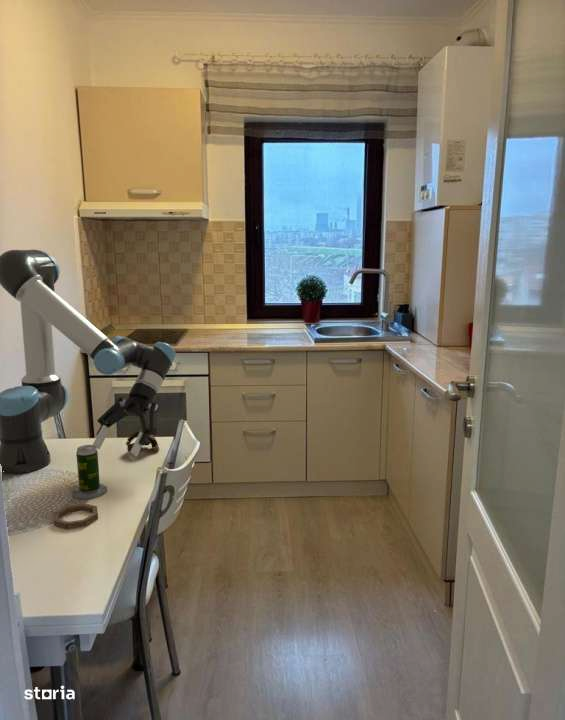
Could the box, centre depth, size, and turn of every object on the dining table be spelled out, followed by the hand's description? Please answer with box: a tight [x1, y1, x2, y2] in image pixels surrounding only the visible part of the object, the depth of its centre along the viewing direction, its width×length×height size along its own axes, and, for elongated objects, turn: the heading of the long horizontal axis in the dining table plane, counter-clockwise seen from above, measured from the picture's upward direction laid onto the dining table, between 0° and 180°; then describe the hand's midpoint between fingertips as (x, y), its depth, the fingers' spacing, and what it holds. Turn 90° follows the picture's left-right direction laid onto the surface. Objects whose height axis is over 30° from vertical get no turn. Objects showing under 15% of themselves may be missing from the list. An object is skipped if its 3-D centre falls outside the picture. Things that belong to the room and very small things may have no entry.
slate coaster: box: [71, 483, 108, 500], centre depth 149 cm, size 9×9×1 cm
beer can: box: [76, 444, 101, 494], centre depth 148 cm, size 5×5×12 cm
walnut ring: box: [53, 503, 99, 531], centre depth 134 cm, size 10×10×2 cm
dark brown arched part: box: [125, 429, 160, 453], centre depth 180 cm, size 12×10×8 cm
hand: (114, 450), depth 157 cm, fingers open, 13 cm apart
